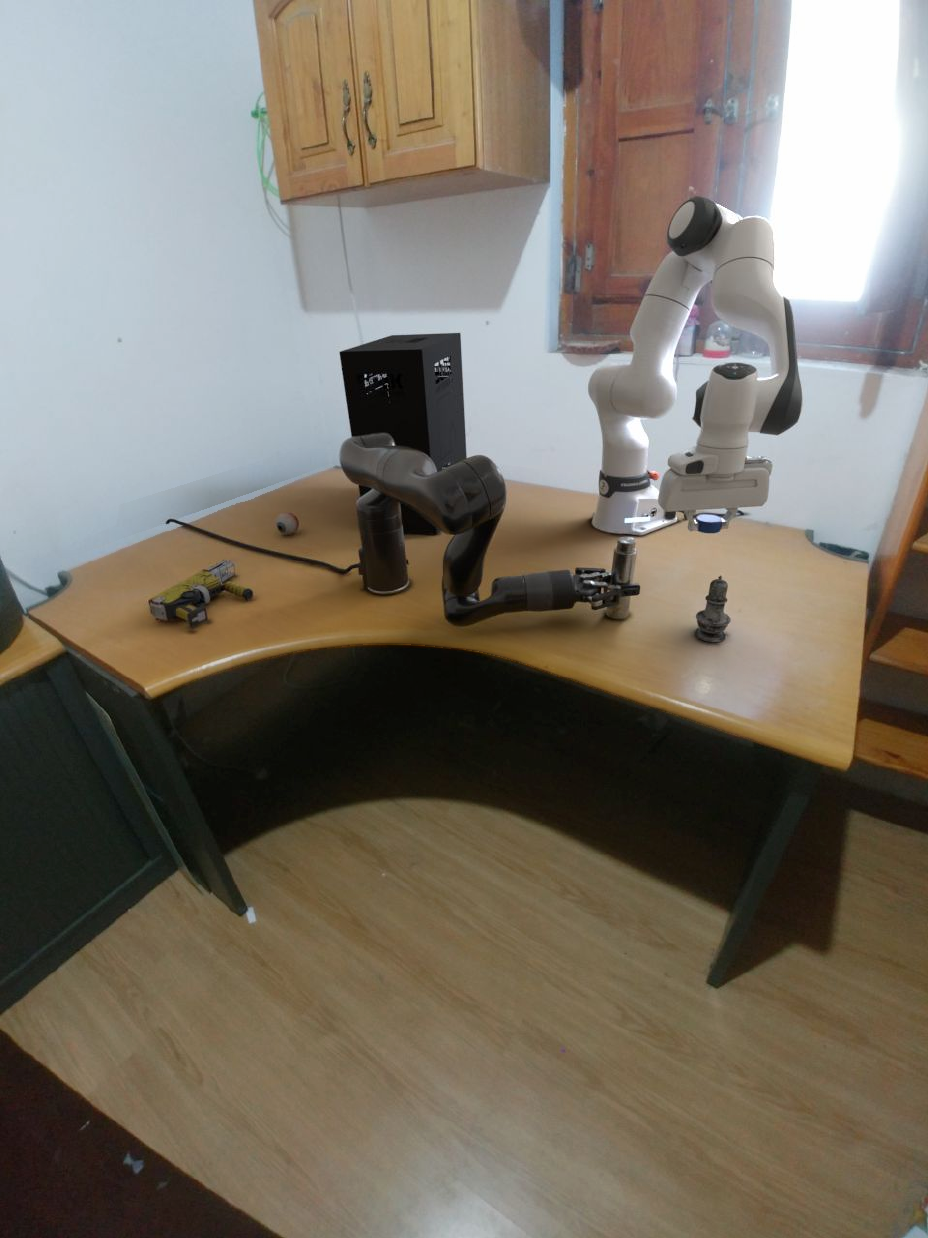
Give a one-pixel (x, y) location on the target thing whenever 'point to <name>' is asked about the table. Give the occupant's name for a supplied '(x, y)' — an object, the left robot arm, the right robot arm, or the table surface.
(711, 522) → the lid
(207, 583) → the toy gun
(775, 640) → the table surface
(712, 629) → the grey stone tiered figure
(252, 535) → the table surface
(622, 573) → the jar
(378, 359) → the cardboard box
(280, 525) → the eyeball
